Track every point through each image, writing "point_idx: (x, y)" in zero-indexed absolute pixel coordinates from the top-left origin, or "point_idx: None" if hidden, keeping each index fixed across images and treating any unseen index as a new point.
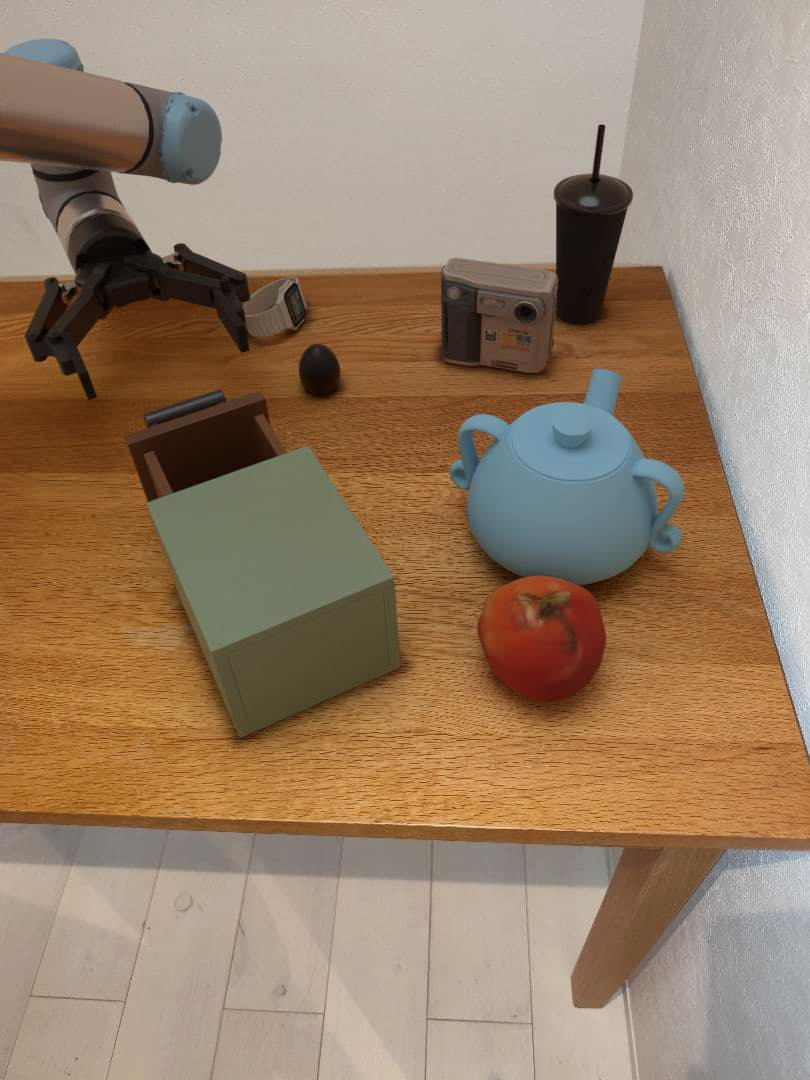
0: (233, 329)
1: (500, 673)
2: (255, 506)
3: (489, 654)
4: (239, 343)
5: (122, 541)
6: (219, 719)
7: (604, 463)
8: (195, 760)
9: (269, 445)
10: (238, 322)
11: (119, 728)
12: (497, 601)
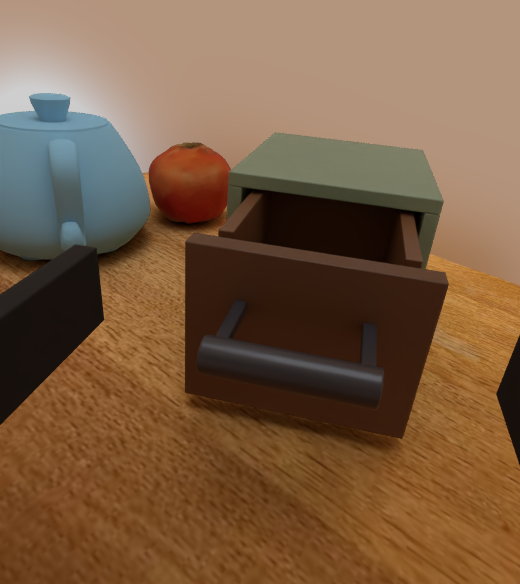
0: (79, 292)
1: None
2: (330, 168)
3: None
4: (99, 297)
5: (458, 451)
6: None
7: (68, 113)
8: None
9: (248, 219)
10: (75, 253)
11: (489, 305)
12: (210, 160)
